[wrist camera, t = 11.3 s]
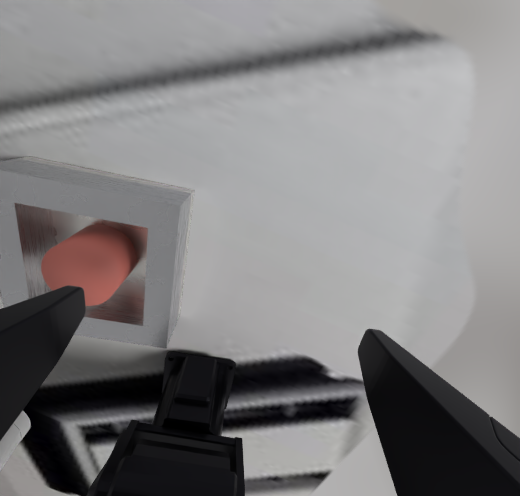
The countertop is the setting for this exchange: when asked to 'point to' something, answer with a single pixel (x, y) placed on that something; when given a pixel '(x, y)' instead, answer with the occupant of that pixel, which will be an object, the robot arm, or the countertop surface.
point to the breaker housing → (91, 213)
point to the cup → (13, 437)
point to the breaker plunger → (90, 262)
